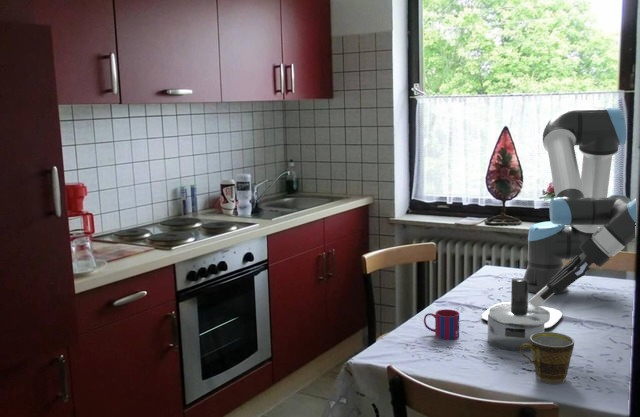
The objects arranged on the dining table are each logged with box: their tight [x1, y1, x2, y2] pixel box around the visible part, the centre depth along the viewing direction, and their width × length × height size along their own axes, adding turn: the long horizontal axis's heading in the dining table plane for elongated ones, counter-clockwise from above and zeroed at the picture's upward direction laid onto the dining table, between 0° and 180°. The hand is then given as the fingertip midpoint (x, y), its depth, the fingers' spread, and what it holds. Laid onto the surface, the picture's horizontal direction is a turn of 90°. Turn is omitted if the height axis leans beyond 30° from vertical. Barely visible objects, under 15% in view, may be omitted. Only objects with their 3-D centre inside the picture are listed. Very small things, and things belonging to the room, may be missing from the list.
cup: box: [423, 309, 460, 341], centre depth 191 cm, size 7×10×7 cm
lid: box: [489, 277, 550, 326], centre depth 183 cm, size 16×16×10 cm
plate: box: [481, 301, 563, 330], centre depth 204 cm, size 22×22×2 cm
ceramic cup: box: [519, 331, 575, 385], centre depth 159 cm, size 13×10×10 cm
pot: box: [487, 314, 545, 353], centre depth 185 cm, size 20×15×7 cm
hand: (532, 304), depth 182 cm, fingers closed
